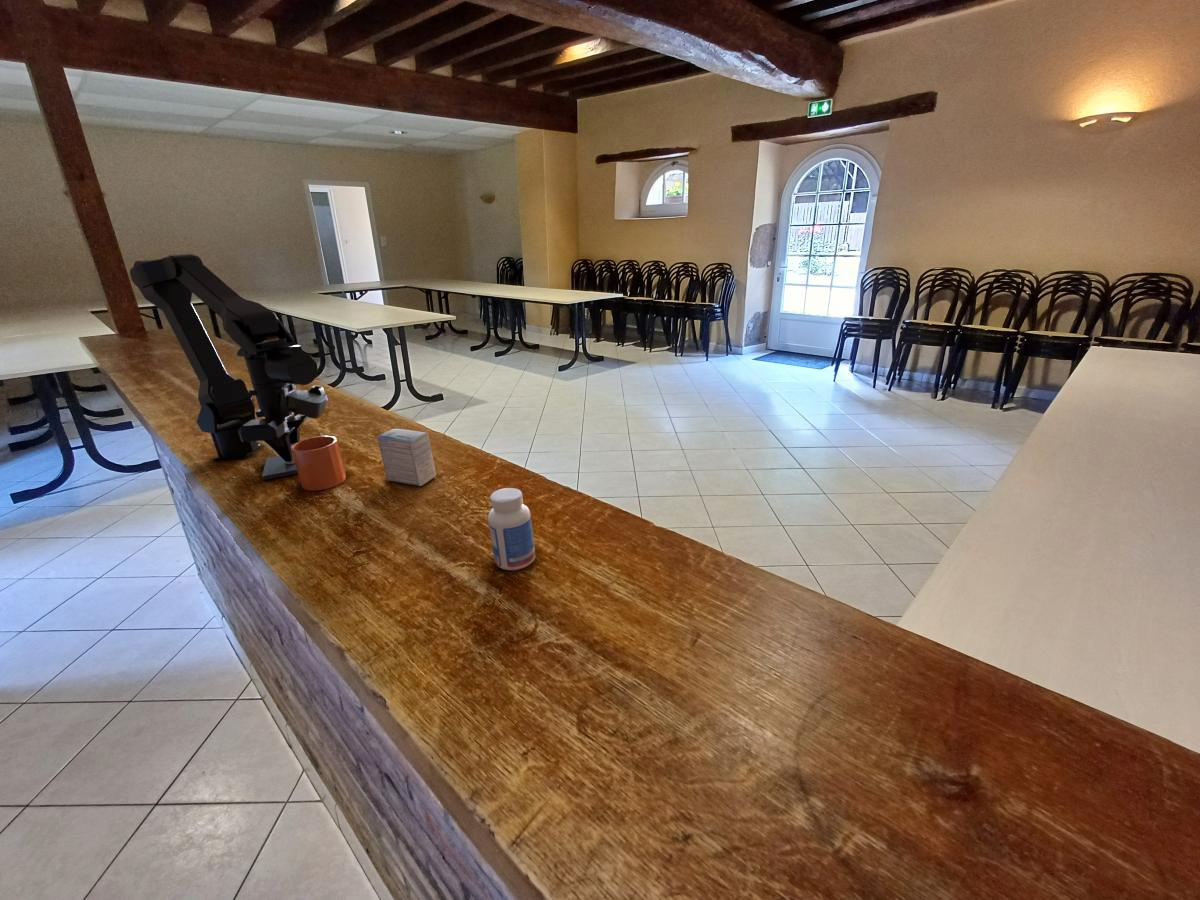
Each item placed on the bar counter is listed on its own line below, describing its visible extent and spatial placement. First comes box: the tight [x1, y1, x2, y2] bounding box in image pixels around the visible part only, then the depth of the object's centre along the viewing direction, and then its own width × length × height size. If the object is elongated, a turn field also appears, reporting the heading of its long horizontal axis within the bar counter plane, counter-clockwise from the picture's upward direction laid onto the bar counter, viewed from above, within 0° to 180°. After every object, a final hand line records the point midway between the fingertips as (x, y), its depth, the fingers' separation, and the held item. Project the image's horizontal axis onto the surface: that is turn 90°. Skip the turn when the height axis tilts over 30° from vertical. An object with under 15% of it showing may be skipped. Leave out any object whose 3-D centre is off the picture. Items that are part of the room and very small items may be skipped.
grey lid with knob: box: [261, 444, 298, 481], centre depth 107 cm, size 10×10×4 cm
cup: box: [291, 435, 347, 492], centre depth 98 cm, size 7×7×8 cm
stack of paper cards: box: [377, 428, 437, 487], centre depth 97 cm, size 8×4×9 cm, turn 65°
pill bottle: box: [487, 487, 536, 571], centre depth 72 cm, size 6×5×10 cm
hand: (292, 458), depth 107 cm, fingers closed on grey lid with knob, 2 cm apart
